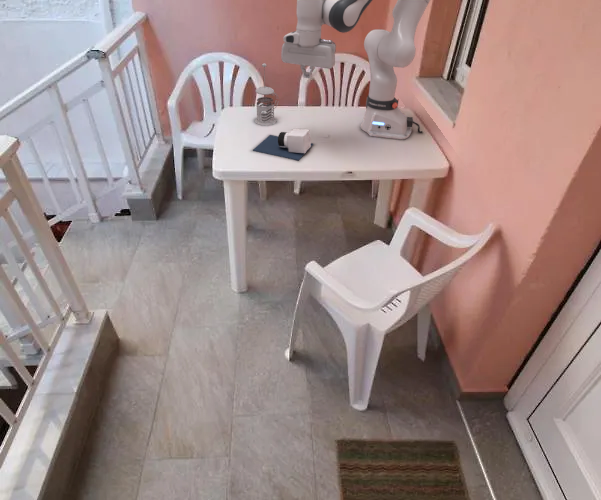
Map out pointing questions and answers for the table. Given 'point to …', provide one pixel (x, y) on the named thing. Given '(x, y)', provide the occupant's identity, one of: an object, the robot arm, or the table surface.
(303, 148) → the medicine bottle
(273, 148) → the mat
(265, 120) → the french press
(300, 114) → the table surface
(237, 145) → the table surface
